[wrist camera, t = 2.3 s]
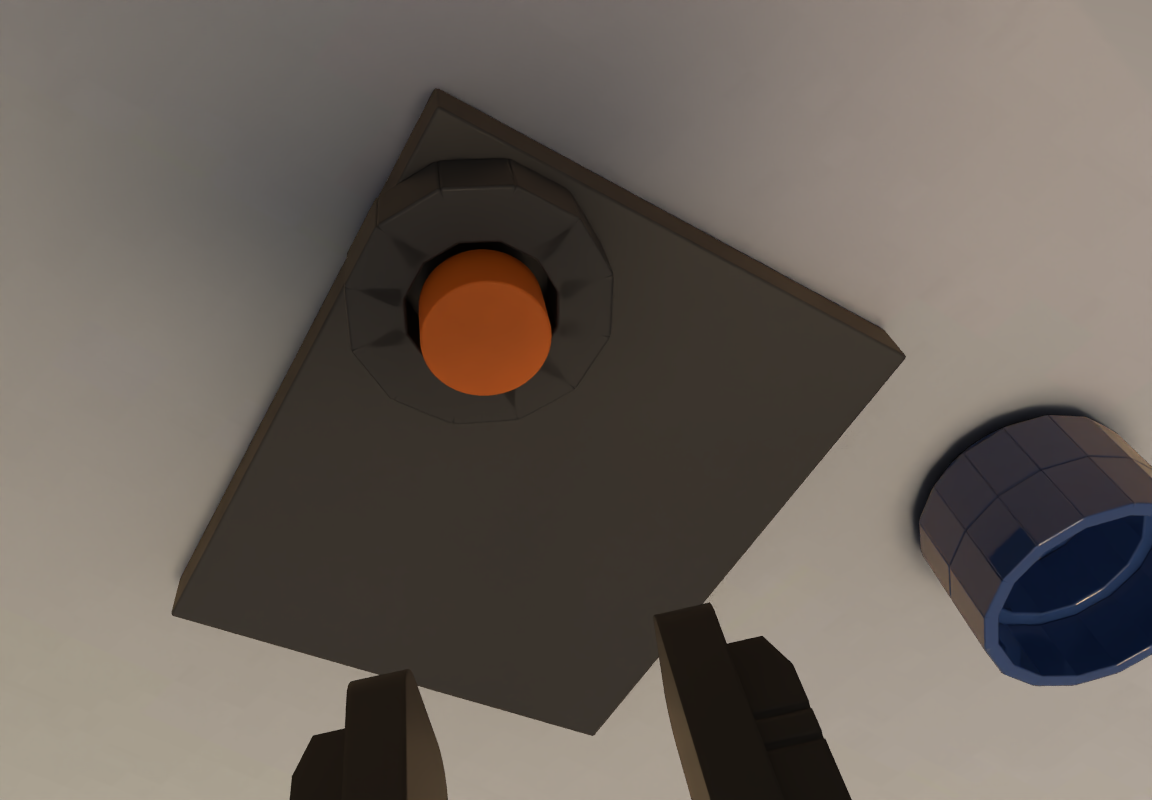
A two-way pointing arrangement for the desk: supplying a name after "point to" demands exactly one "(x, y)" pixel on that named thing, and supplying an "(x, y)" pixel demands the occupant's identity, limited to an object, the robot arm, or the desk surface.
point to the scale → (526, 439)
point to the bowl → (1047, 548)
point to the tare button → (483, 323)
